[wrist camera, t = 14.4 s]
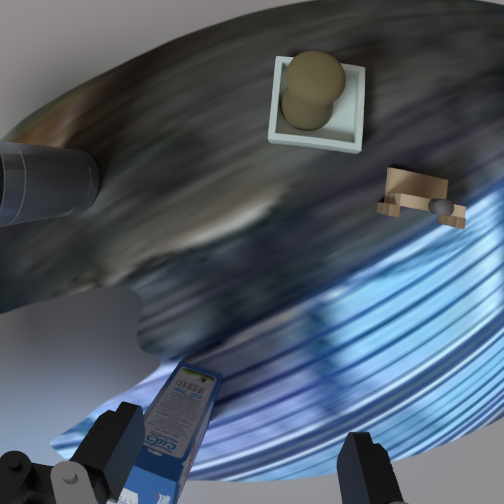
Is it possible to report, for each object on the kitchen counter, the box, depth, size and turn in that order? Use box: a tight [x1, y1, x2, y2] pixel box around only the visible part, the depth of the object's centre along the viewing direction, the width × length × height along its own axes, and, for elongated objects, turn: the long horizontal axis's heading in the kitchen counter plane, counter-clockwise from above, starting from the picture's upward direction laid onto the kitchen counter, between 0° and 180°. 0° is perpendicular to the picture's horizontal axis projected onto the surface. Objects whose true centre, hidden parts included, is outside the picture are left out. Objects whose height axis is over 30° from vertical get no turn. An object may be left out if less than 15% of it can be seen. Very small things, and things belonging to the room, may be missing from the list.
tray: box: [268, 56, 365, 154], centre depth 32 cm, size 10×10×3 cm
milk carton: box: [118, 361, 222, 504], centre depth 33 cm, size 10×6×20 cm, turn 166°
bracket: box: [376, 168, 466, 229], centre depth 29 cm, size 10×5×9 cm, turn 84°
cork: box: [280, 50, 346, 131], centre depth 27 cm, size 6×6×11 cm
